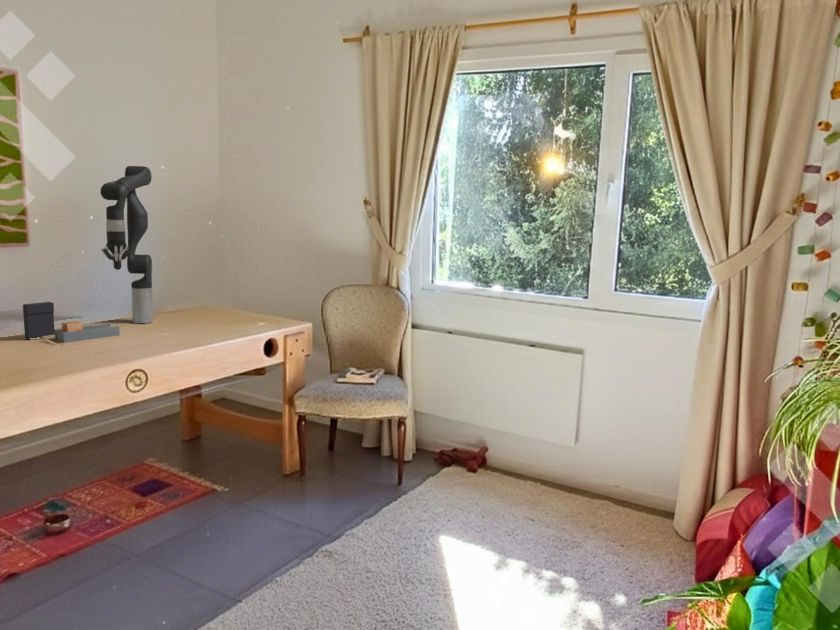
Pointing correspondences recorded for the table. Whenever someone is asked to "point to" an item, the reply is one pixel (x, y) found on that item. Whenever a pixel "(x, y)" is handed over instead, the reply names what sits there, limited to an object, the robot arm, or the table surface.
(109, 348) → the table surface
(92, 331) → the chute
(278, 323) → the table surface
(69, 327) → the block
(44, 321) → the dark grey upright box
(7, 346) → the table surface
